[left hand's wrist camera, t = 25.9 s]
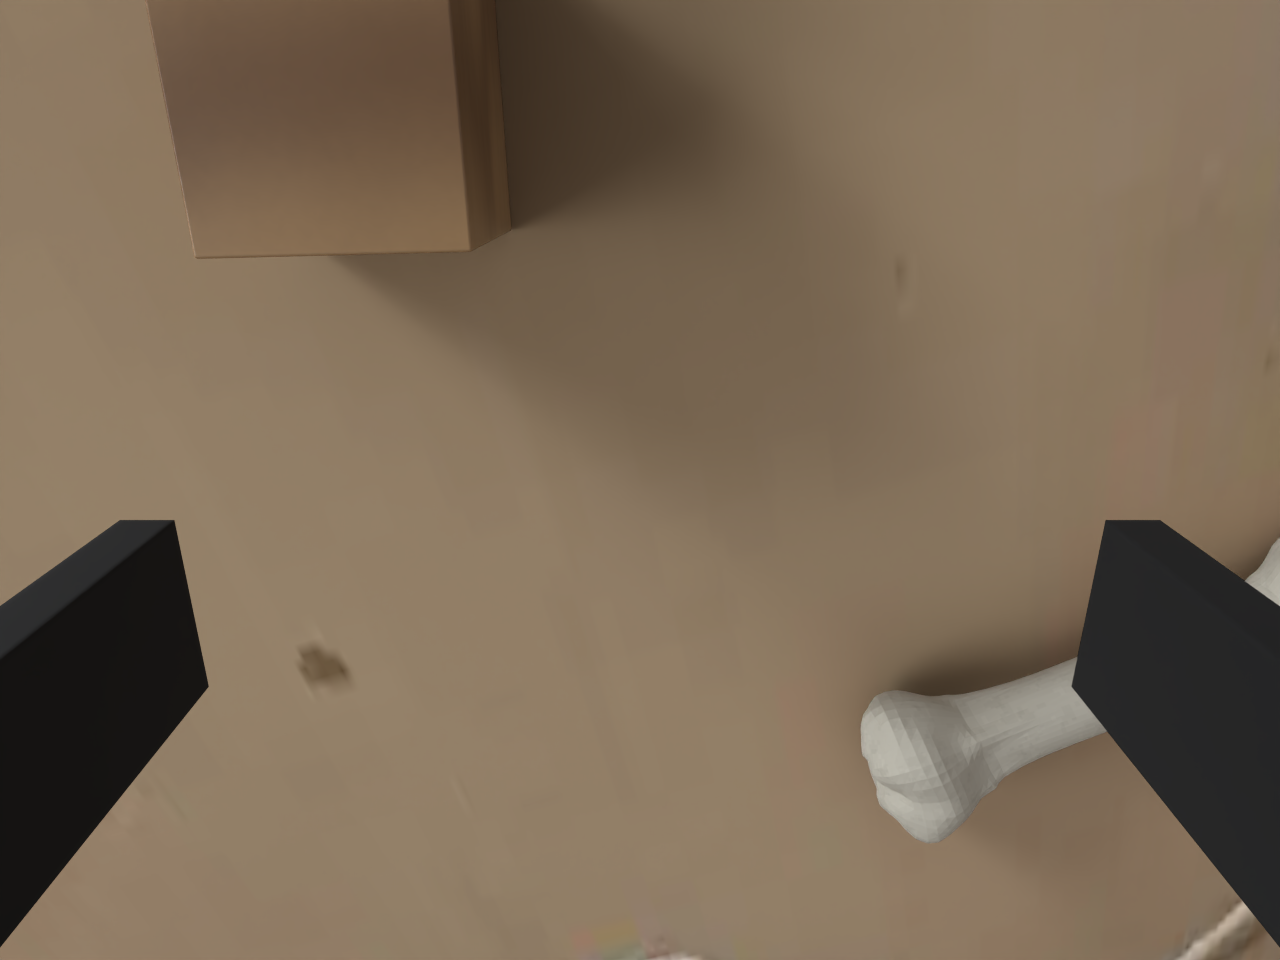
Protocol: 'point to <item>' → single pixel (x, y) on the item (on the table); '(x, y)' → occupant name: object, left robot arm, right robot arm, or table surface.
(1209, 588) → the left robot arm
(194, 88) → the block
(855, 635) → the table surface
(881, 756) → the dog toy
